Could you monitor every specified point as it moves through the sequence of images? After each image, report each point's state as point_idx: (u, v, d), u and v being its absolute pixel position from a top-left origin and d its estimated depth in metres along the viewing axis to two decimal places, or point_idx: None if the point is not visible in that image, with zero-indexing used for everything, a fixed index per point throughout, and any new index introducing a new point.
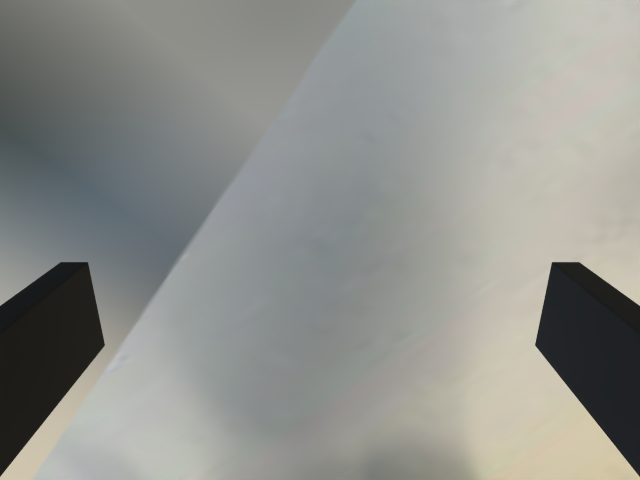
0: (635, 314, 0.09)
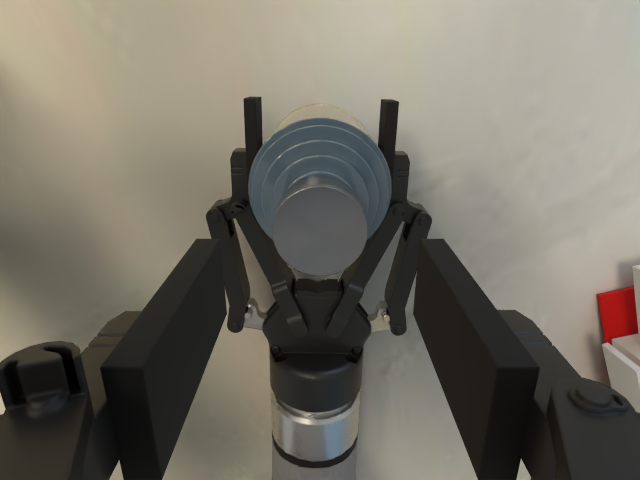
0: (459, 277, 0.11)
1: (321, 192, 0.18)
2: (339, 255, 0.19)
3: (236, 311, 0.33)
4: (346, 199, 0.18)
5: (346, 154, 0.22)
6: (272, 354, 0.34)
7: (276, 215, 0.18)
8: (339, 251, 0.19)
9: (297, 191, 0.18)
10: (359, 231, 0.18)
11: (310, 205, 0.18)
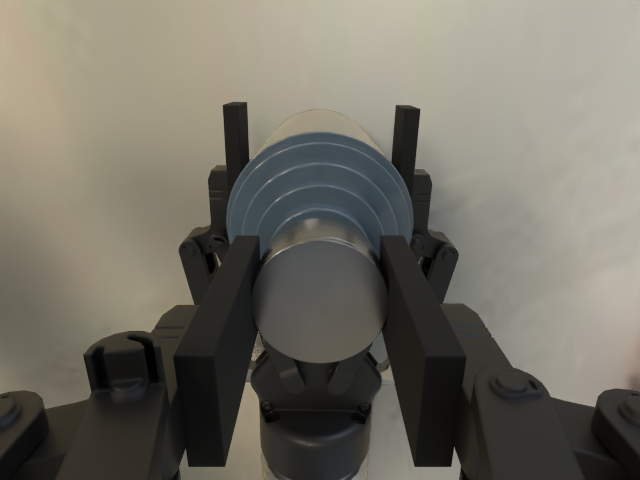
0: (409, 272, 0.12)
1: (322, 249, 0.12)
2: (348, 336, 0.13)
3: None
4: (359, 259, 0.12)
5: (355, 182, 0.17)
6: (262, 411, 0.28)
7: (256, 281, 0.12)
8: (348, 330, 0.13)
9: (286, 247, 0.12)
10: (377, 303, 0.13)
11: (306, 267, 0.12)
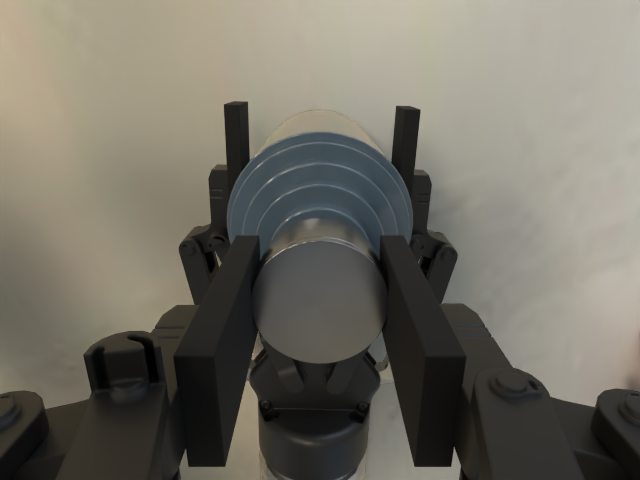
0: (409, 272, 0.12)
1: (260, 314, 0.13)
2: (349, 273, 0.12)
3: None
4: (261, 281, 0.12)
5: (355, 182, 0.17)
6: (261, 410, 0.28)
7: (307, 361, 0.13)
8: (343, 274, 0.12)
9: (268, 341, 0.13)
10: (305, 253, 0.12)
11: (282, 324, 0.13)
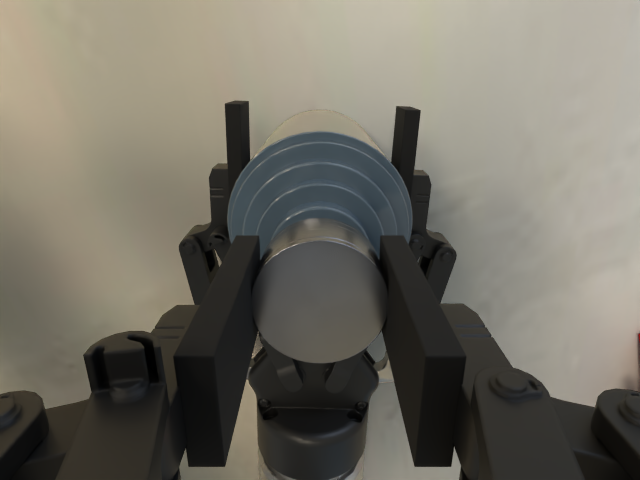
0: (409, 272, 0.12)
1: (340, 353, 0.13)
2: (278, 286, 0.12)
3: None
4: (305, 357, 0.13)
5: (356, 181, 0.17)
6: (260, 409, 0.28)
7: (387, 305, 0.13)
8: (281, 291, 0.12)
9: (370, 342, 0.13)
10: (268, 326, 0.13)
11: (347, 333, 0.13)
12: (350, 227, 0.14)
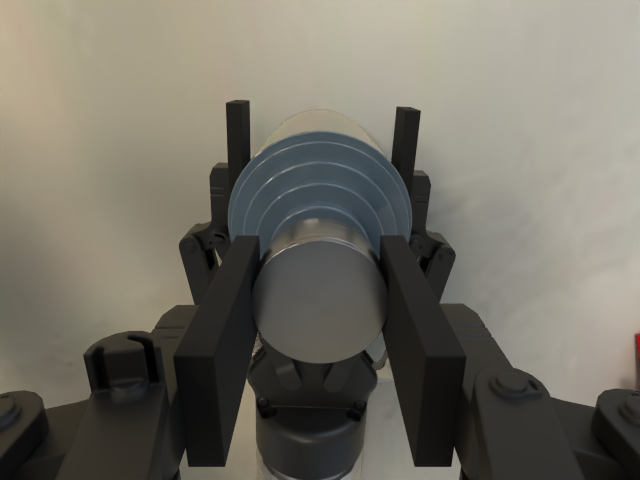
0: (409, 272, 0.12)
1: (372, 276, 0.12)
2: (307, 343, 0.13)
3: None
4: (382, 308, 0.13)
5: (356, 181, 0.17)
6: (258, 408, 0.28)
7: (306, 243, 0.12)
8: (312, 340, 0.13)
9: (354, 248, 0.12)
10: (352, 345, 0.13)
11: (347, 274, 0.12)
12: None
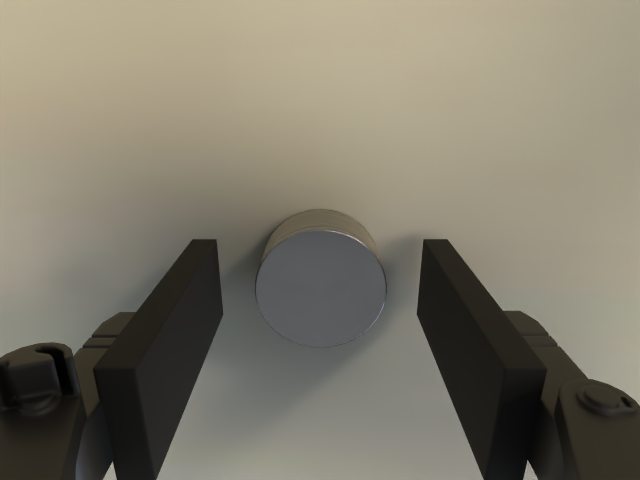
0: (463, 278, 0.11)
1: (370, 264, 0.13)
2: (308, 328, 0.14)
3: None
4: (380, 294, 0.13)
5: None
6: None
7: (307, 232, 0.13)
8: (313, 325, 0.14)
9: (353, 237, 0.13)
10: (351, 329, 0.14)
11: (346, 261, 0.13)
12: None
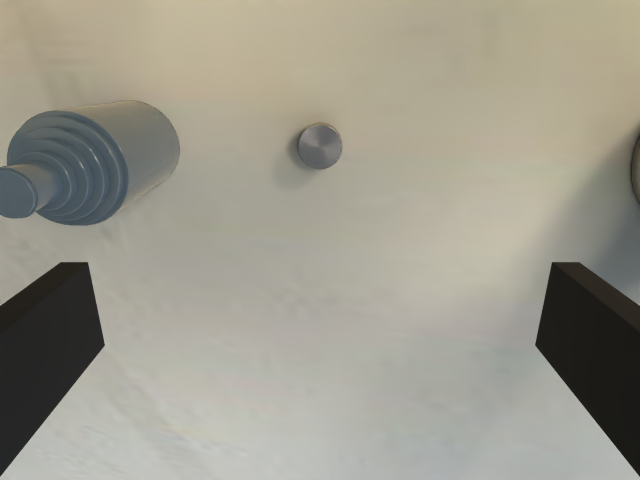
0: (635, 314, 0.09)
1: (336, 137, 0.40)
2: (316, 161, 0.40)
3: None
4: (340, 148, 0.40)
5: (92, 203, 0.30)
6: None
7: (316, 125, 0.39)
8: (317, 160, 0.40)
9: (330, 127, 0.39)
10: (330, 162, 0.40)
11: (328, 136, 0.40)
12: None
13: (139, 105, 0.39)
